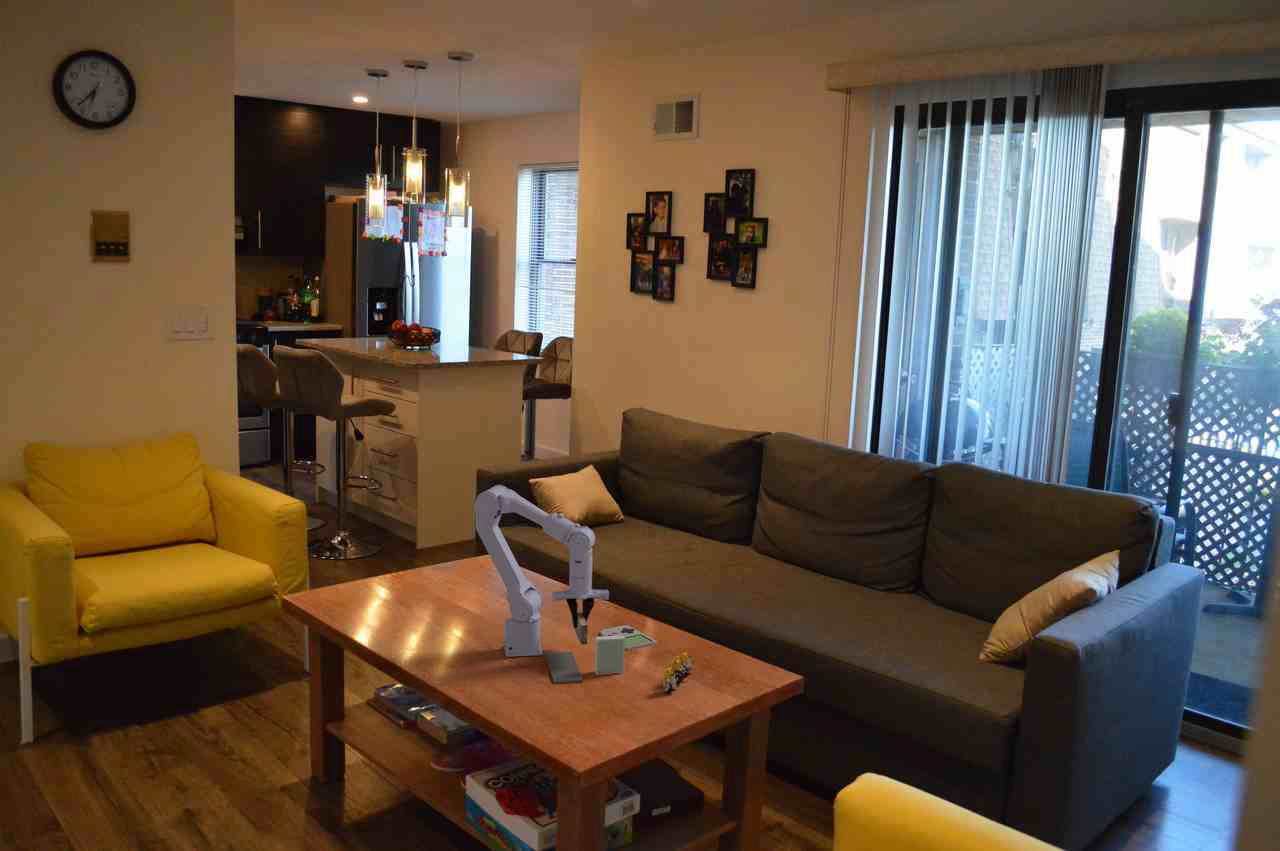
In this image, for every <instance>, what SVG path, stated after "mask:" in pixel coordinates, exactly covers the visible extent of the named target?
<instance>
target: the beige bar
mask: <svg viewBox="0 0 1280 851" xmlns="http://www.w3.org/2000/svg"><path fill="white" fill-rule="evenodd" d="M581 609H582V608H580V605H579V604H578V609H577V628H574V626H573V619H572V618H571V624H572V627H573V629H574V631H575V634H576V637H577V639H578V641H579V644H580V645H588V631H589V630H588V628H589V624H588V621H587V622H586V620H585V618H584V616H583V614H582V612H583V611H582V610H581Z"/></svg>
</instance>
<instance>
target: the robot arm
mask: <svg viewBox="0 0 1280 851" xmlns="http://www.w3.org/2000/svg"><path fill="white" fill-rule="evenodd" d="M473 509H474V511H475V512H474V514H475V516H474V517H475V518H474V519H475V521H474V522H475V525H474V526H475V530H476V532H477V533H478V535H479V537H480V540H481V541H482V543H483V545H484V548H485V550H486V551H487V553H488V556H489V557H490V559H491V560H492V562H493V564H494V566H495V568H496V571H497V573H498V574H499V576H500V578H501V580H502V582H503V583H504V585H505V587H506V601H507V602H508V606H509V614H510V615H511V617H510V618H504V621H503V622H504V623H503V640H502V644H503V645H502V646H503V650H504V653H505V656H506V657H508V658H509V657H530V656H543V655H544V653H543V649H542V646H541V613H540V609H541V608H542V607H543V605H544V596H543V594H542V593H541V591H539V590H538V589H536V587H535V586H534V584H533V583H532V581H530V580H528V579H527V578H526V577H525V576H524V573H523V571H522V570H521V568H520V566H519V564H518V561H517V560H516V558H515V556H514V554H513V551H512V550H511V548H510V546H509V544H508V542H507V540H506V538H505V537H504V535H503V533H502V531H501V529H500V527H499V522H500V520H501V517H502V514H511V513H516V514H518V515H519V516H522V517H524V518H526V519H528V520H530V521H532V522H534V523H536V524H538V525H540V526H541V527H542V529H543V532H544V533H545V534H546V535H547V536H550V537H552V538H554V540H556V541H559V542H561V543H562V544H564V545H566V546H567V549H568V550H569V552H570V554H569V556H570V557H569V578H568V580H569V581H568V582H569V583H568V587H569V588H568V589H565V590H558V591H551V594H550V595H551V597H550V599H551V601H552V602H557V601H566V603H567V607H568V608H569V612H570V614H571V620H572V619H573V625H572V627H573V626H574V627H573V629H574V628H577V609H578V605H579V604H578V601H577V600H580V601H581V602H582V608H581V609H582V611H581V612H582V614H583V616H584V618H585V620H586V622H587V623H588V619H589V616H590V614H591V612H592V609H593V608H594V606H595V603H596V602H595V600H609V598H610V592H609V590H608V589H594V588H592V584H593V583H592V581H593V548H592V547H593V546H594V544H595V543H596V542H595V541H596V535H595V533H594V531H593V529H591V528H589V526H586V525H583V526H581V525H580V524H579V523H574V522H573V521H571V520H570V519H567V518H566V517H565V514H563V513H562V512H560V513H559V514H558V513H557V512H554V513H553V512H552V513H548V512H546V511H544V510H542V509H541V508H540V507H538V506H536V505H535V504H533V503H532V502H530V501H529V500H527V499H525V498H524V497H522V496H521V495H519V494H518V493H517V492H516V491H515V490H514V489H513V490H512V489H510V488H508V487H506V486H505V485H502V484H496V485H494V486H492V487H490V488H489V489H487V490H485V491H483V492H480V493H479V494H478V495H477V497H476V499H475V501H474V504H473Z"/></svg>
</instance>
